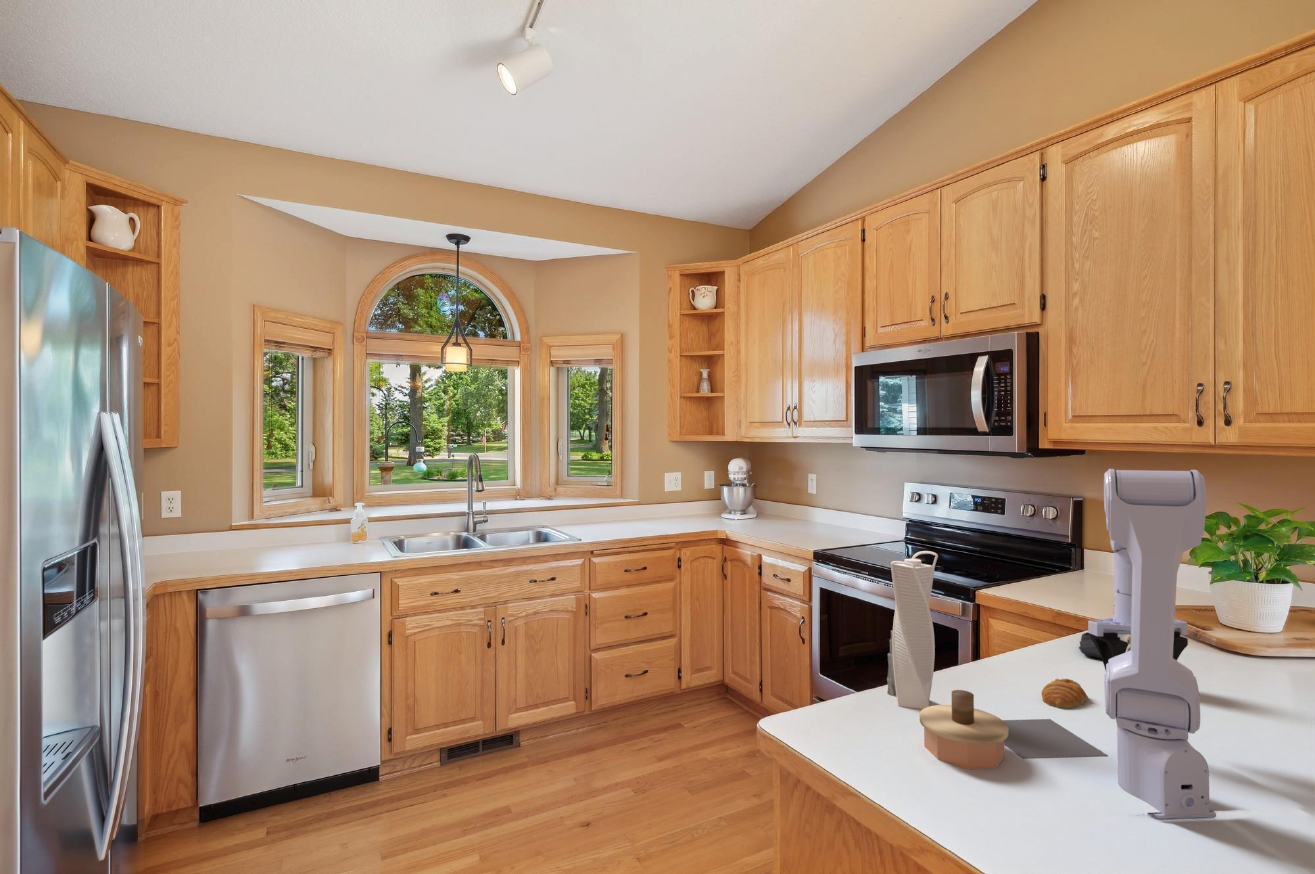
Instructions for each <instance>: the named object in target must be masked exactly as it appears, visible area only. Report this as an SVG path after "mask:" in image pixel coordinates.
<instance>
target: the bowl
mask: <svg viewBox="0 0 1315 874" xmlns="http://www.w3.org/2000/svg"><path fill="white" fill-rule="evenodd" d="M923 731H924V732H923V733H924V735H923V737H924V739H923V741H924V743H923V746H924V748H925V749H927V751H928V752H929V753H931V754H932V755H933V756H934V758H936V759H937V760H938V761H941V762H944V763H948V764H952V765H955V766H958V767H960V768H965V769H968V770H969V769H971V770H972V769H973V770H974V769H975V770H976V769H997V768H998V767H999V766H1000V764H1001V763H1002V761H1004V759H1005V745H1004V741H1002V742H998V743H993V744H971V743H964V742H958V741H954V740H950V739H947V738H944V737H941V736H938V735H936V734H934V733H932V732H930V731H928V730H927V729H926V728H924V727H923Z"/></svg>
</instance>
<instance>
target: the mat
mask: <svg viewBox="0 0 1315 874" xmlns="http://www.w3.org/2000/svg"><path fill="white" fill-rule="evenodd" d="M1002 720H1003V721H1004V722H1005V723H1006V724H1007V726H1008V733H1009V735H1008V737H1007V739H1005V740H1004V746H1005V747H1007V748H1008V749H1010V750H1011V752H1013V753H1015V754H1016V755H1017V756H1019V757H1020V758H1022V760H1023V759H1025V760H1026V759H1054V758H1055V759H1056V758H1057V759H1058V758H1061V759H1062V758H1089V757H1091V758H1093V757H1094V758H1095V757H1109V755H1108V754H1106V753H1104V752H1103V751H1102V750H1100V749H1099V748H1097V747H1096V746H1094V745H1093V744H1090V743H1089V742H1087V741H1086V740H1085V739H1082V738H1081V737H1079V736H1078V735H1076V734H1074V733H1073V732H1071V731H1070V730H1068V729H1067V728H1065V727H1063V726H1062V725H1061V724H1058V723H1057V722H1055V721H1054V720H1053V719H1051V718H1042V719H1041V718H1037V719H1036V718H1035V719H1032V718H1031V719H1002Z"/></svg>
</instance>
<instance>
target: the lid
mask: <svg viewBox="0 0 1315 874" xmlns="http://www.w3.org/2000/svg"><path fill="white" fill-rule="evenodd" d="M974 698H975V695H974V693H972V692H971V691H968V690H963V689H955V690H952V691H951V704H936V705H935V704H934V705H931V706H930V705H929V707H926V708H924V709H920V712H919V723H920V725H921V726H922V727H923V729H924V728H926V729H927V730H928V731H930V732H932V733H934V734H936V735H938V736H941V737H944V738H947V739H950V740H954V741H958V742H964V743H971V744H993V743H998V742H1002V741H1004V740H1005V739H1007V737H1008V735H1009V733H1008V726H1007V724H1006V723H1005V722H1004V721H1003V720H1004V719H1001V718H1000V717H998V716H996V715H995V714H992V713H989V712H987V711H985V710H981V709H978V708H975V705H974V704H975V703H974V701H975V699H974Z"/></svg>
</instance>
